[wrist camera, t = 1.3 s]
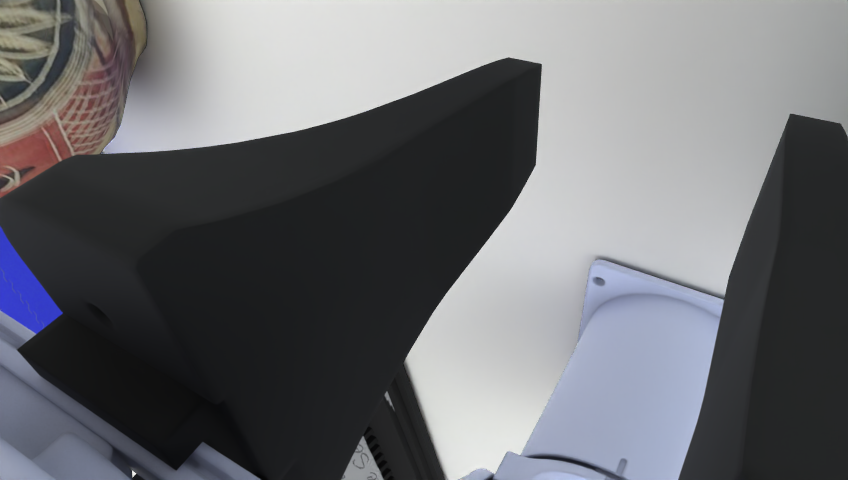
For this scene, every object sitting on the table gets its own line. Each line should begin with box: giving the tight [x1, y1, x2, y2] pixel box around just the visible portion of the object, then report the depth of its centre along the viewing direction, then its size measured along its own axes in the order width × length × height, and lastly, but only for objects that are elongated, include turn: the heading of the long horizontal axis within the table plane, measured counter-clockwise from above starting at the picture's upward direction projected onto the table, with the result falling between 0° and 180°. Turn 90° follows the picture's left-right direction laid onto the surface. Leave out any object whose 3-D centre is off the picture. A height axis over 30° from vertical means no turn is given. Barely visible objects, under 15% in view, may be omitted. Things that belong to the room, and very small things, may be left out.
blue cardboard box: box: [0, 226, 63, 334], centre depth 52 cm, size 39×8×18 cm, turn 178°
